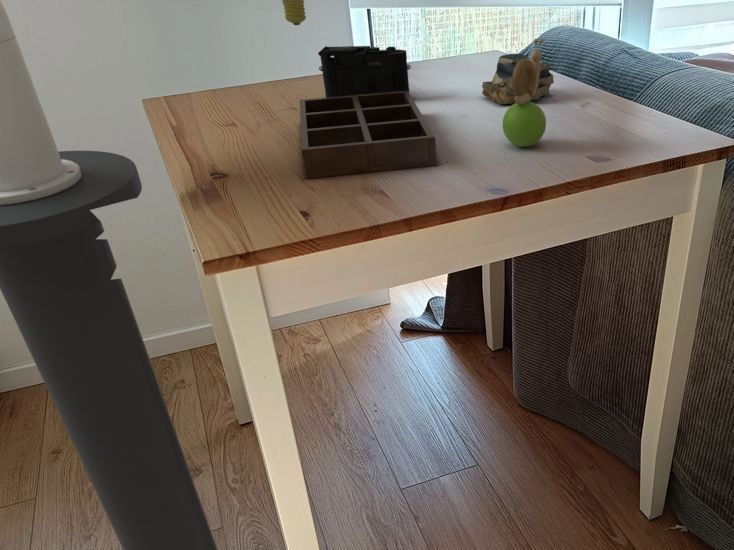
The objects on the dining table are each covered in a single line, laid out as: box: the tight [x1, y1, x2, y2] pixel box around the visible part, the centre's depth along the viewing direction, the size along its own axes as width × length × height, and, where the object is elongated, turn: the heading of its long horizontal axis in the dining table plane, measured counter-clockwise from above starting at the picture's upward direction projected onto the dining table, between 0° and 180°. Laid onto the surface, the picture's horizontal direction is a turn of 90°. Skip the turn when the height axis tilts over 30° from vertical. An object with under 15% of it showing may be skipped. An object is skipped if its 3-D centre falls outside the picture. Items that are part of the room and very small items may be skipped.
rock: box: [481, 53, 555, 105], centre depth 105 cm, size 9×9×6 cm
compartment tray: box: [298, 91, 438, 179], centre depth 89 cm, size 15×23×3 cm
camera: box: [317, 45, 412, 98], centre depth 107 cm, size 14×7×8 cm, turn 86°
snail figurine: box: [502, 38, 547, 148], centre depth 85 cm, size 5×6×12 cm
